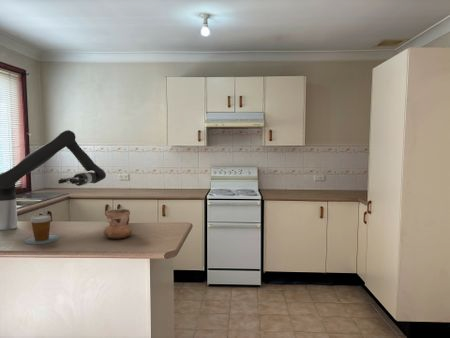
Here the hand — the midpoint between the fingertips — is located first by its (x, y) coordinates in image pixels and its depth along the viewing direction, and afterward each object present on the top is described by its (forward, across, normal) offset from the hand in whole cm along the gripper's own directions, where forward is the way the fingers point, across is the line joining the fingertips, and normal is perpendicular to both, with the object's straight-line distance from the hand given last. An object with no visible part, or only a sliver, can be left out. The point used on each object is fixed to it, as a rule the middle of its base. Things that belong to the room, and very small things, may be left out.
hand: (65, 182), depth 187 cm
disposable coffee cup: (+21, 0, +28) cm, 35 cm away
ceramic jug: (+8, +37, +28) cm, 47 cm away
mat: (+20, 0, +28) cm, 35 cm away
